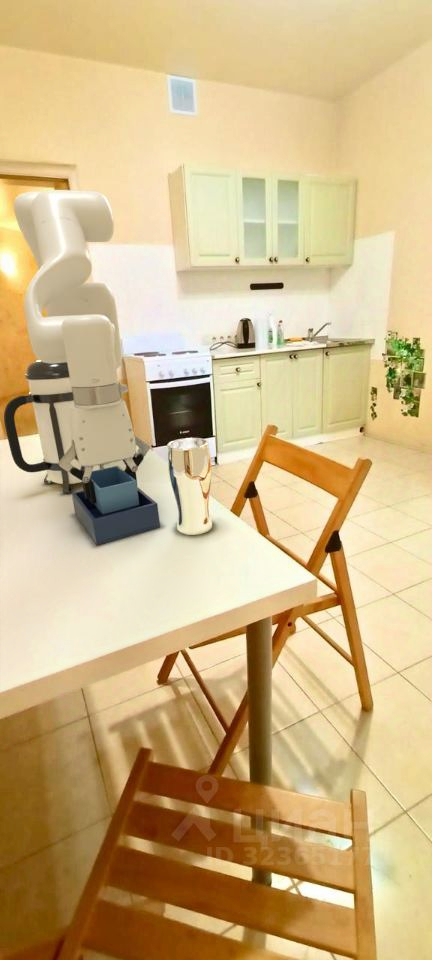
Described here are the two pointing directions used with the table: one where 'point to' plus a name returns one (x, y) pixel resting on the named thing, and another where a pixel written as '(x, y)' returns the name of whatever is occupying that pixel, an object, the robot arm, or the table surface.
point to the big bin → (116, 518)
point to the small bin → (114, 489)
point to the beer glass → (191, 483)
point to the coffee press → (46, 421)
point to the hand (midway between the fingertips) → (112, 495)
